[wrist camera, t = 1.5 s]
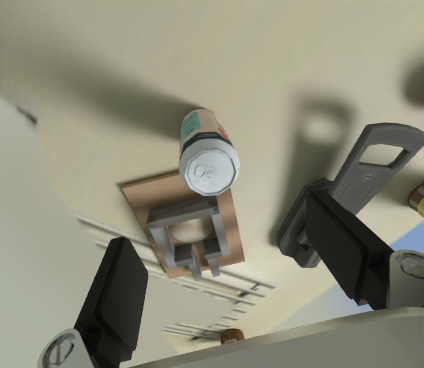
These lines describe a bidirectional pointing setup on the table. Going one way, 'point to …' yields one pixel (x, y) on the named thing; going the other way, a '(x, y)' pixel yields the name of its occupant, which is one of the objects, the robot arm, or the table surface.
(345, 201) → the zipper pull
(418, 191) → the sauce bottle
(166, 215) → the keyhole board
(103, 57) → the table surface
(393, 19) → the table surface
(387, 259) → the robot arm
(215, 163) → the beer can
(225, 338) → the utensil holder
